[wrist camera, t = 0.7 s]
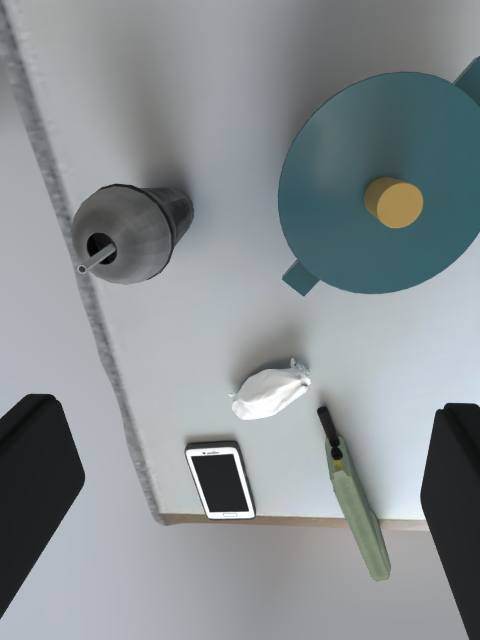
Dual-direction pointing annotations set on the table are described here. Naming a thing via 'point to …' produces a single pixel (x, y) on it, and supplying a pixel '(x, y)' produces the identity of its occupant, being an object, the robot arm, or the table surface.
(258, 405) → the white tied bag
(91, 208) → the beverage cup
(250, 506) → the cell phone
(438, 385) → the table surface
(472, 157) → the lid
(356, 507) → the handheld radio
